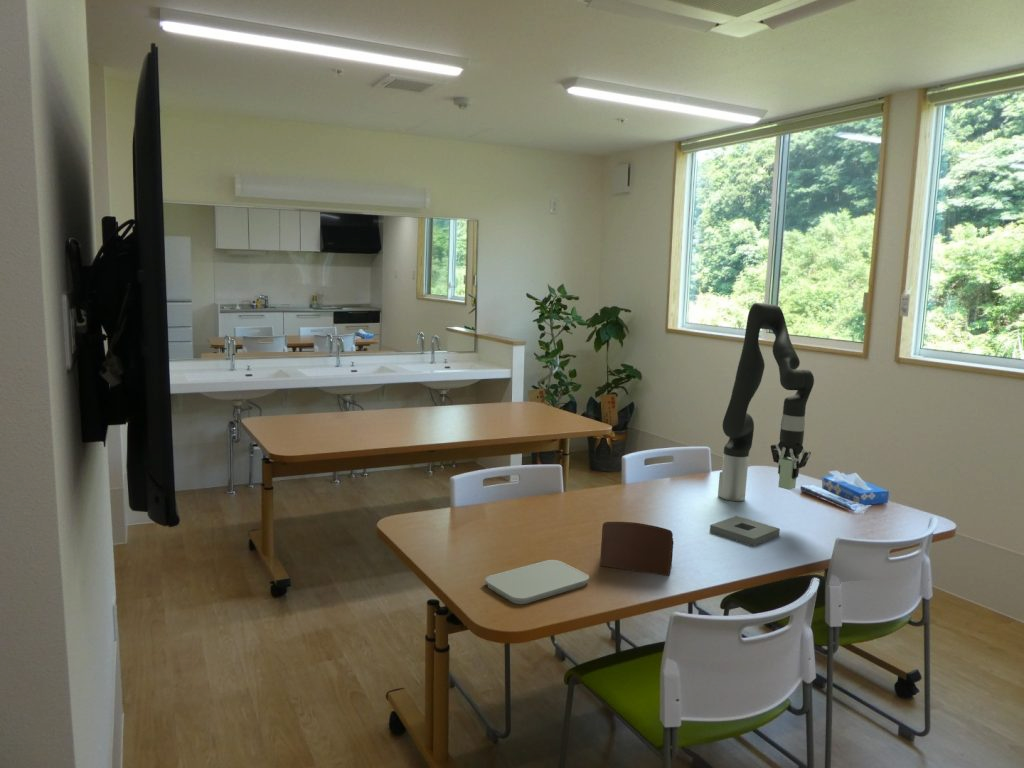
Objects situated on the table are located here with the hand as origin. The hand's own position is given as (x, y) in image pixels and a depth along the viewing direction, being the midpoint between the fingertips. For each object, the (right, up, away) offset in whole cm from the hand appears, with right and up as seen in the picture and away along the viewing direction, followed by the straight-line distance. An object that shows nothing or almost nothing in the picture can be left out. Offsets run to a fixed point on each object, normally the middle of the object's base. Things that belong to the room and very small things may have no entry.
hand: (787, 476), depth 254 cm
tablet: (-87, -23, -55) cm, 106 cm away
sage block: (0, -4, 0) cm, 4 cm away
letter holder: (-58, -21, -38) cm, 73 cm away
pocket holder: (-17, -18, -9) cm, 26 cm away
